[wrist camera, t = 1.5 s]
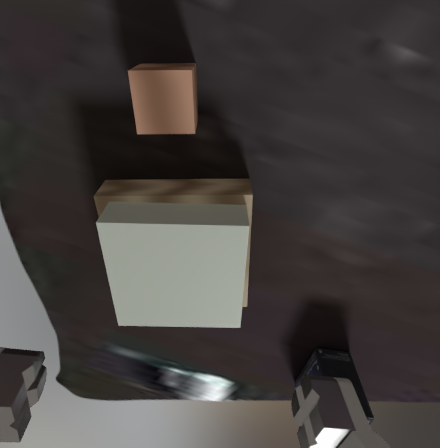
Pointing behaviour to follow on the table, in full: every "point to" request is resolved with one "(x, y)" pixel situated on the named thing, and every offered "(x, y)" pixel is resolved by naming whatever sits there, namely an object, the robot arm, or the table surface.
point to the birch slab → (181, 197)
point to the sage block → (175, 262)
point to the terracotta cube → (164, 98)
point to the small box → (336, 372)
